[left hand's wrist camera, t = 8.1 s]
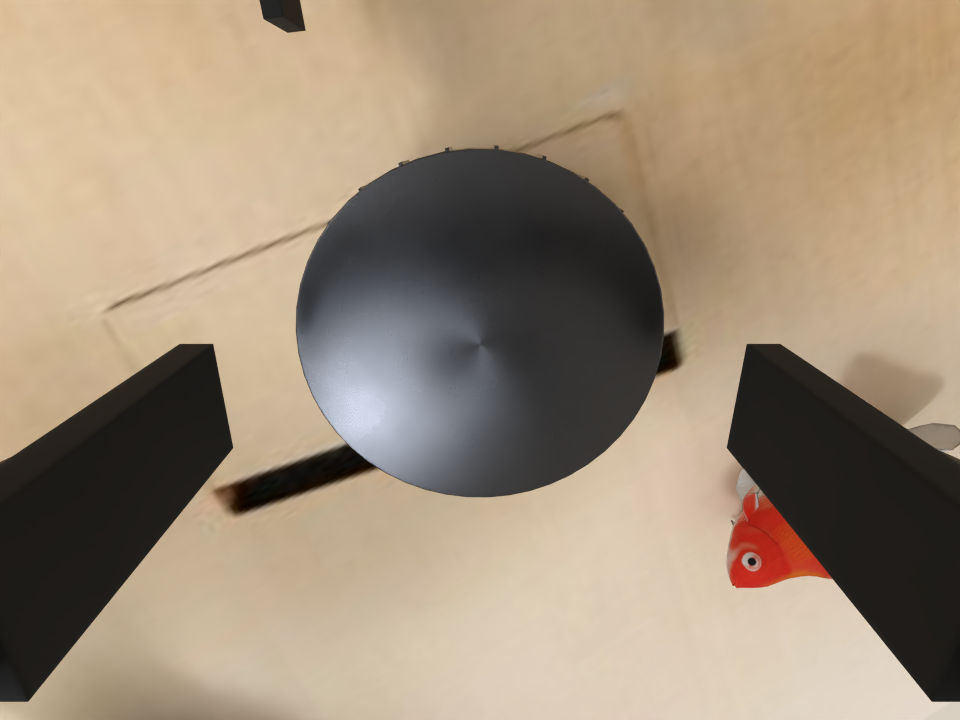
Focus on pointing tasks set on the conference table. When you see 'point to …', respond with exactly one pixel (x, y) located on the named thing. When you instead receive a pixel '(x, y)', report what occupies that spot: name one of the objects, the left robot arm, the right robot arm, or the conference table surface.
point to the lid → (480, 322)
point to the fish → (788, 529)
